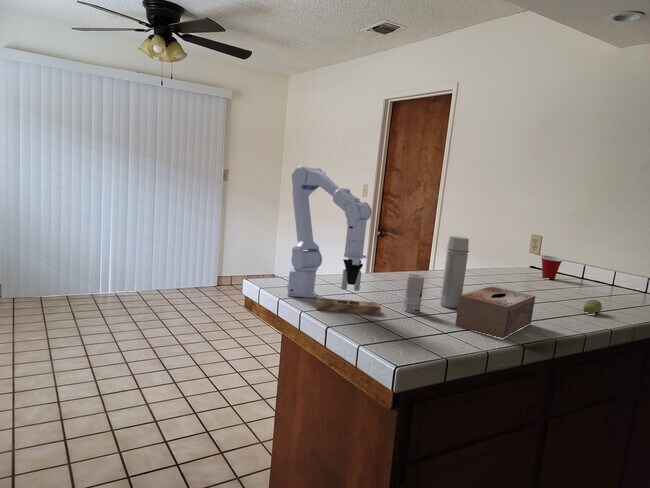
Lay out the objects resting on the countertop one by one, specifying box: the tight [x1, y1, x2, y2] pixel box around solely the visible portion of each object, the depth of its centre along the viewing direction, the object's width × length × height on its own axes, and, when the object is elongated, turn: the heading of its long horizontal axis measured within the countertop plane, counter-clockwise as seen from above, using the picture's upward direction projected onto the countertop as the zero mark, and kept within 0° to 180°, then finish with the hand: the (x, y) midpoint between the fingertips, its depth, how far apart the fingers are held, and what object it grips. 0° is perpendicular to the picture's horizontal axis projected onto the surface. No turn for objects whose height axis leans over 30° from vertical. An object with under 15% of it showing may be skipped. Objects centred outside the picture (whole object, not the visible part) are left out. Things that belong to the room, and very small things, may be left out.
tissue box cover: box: [454, 285, 536, 338], centre depth 142 cm, size 26×14×10 cm, turn 139°
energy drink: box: [403, 273, 425, 314], centre depth 149 cm, size 5×5×12 cm
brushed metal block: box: [340, 268, 362, 292], centre depth 142 cm, size 6×2×6 cm, turn 93°
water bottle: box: [439, 235, 470, 309], centre depth 159 cm, size 9×8×25 cm
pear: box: [582, 299, 603, 314], centre depth 172 cm, size 6×5×10 cm
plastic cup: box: [540, 255, 564, 280], centre depth 242 cm, size 11×11×12 cm
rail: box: [315, 297, 382, 316], centre depth 143 cm, size 20×5×2 cm, turn 93°
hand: (350, 283), depth 142 cm, fingers closed on brushed metal block, 2 cm apart
